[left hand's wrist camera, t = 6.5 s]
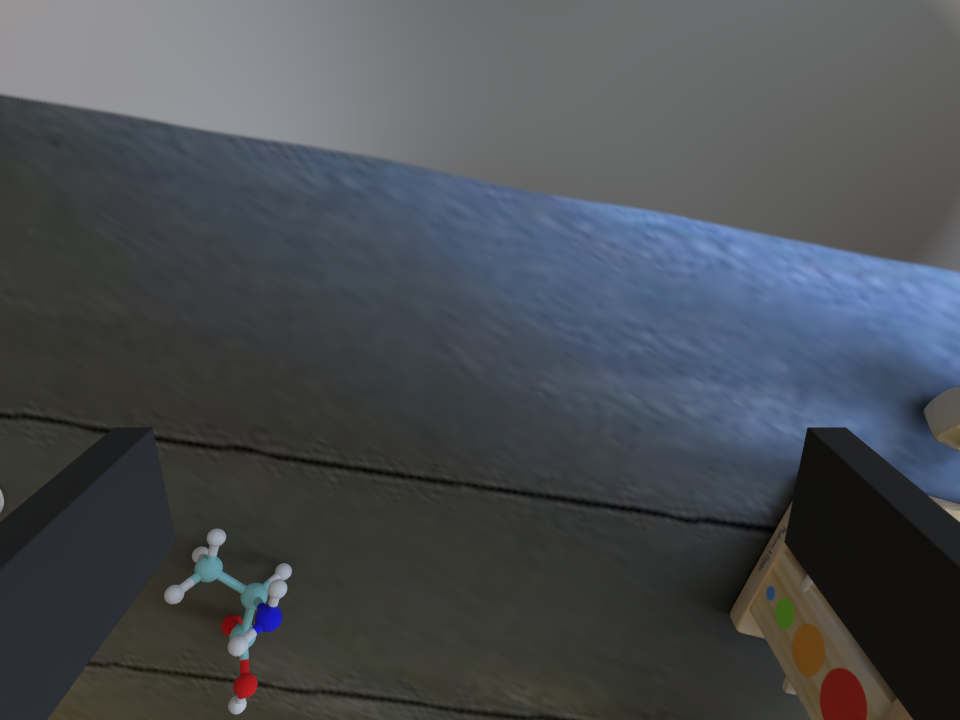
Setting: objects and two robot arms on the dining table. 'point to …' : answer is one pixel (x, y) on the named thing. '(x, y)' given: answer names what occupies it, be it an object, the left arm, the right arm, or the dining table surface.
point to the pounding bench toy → (826, 617)
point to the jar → (1, 501)
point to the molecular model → (233, 625)
